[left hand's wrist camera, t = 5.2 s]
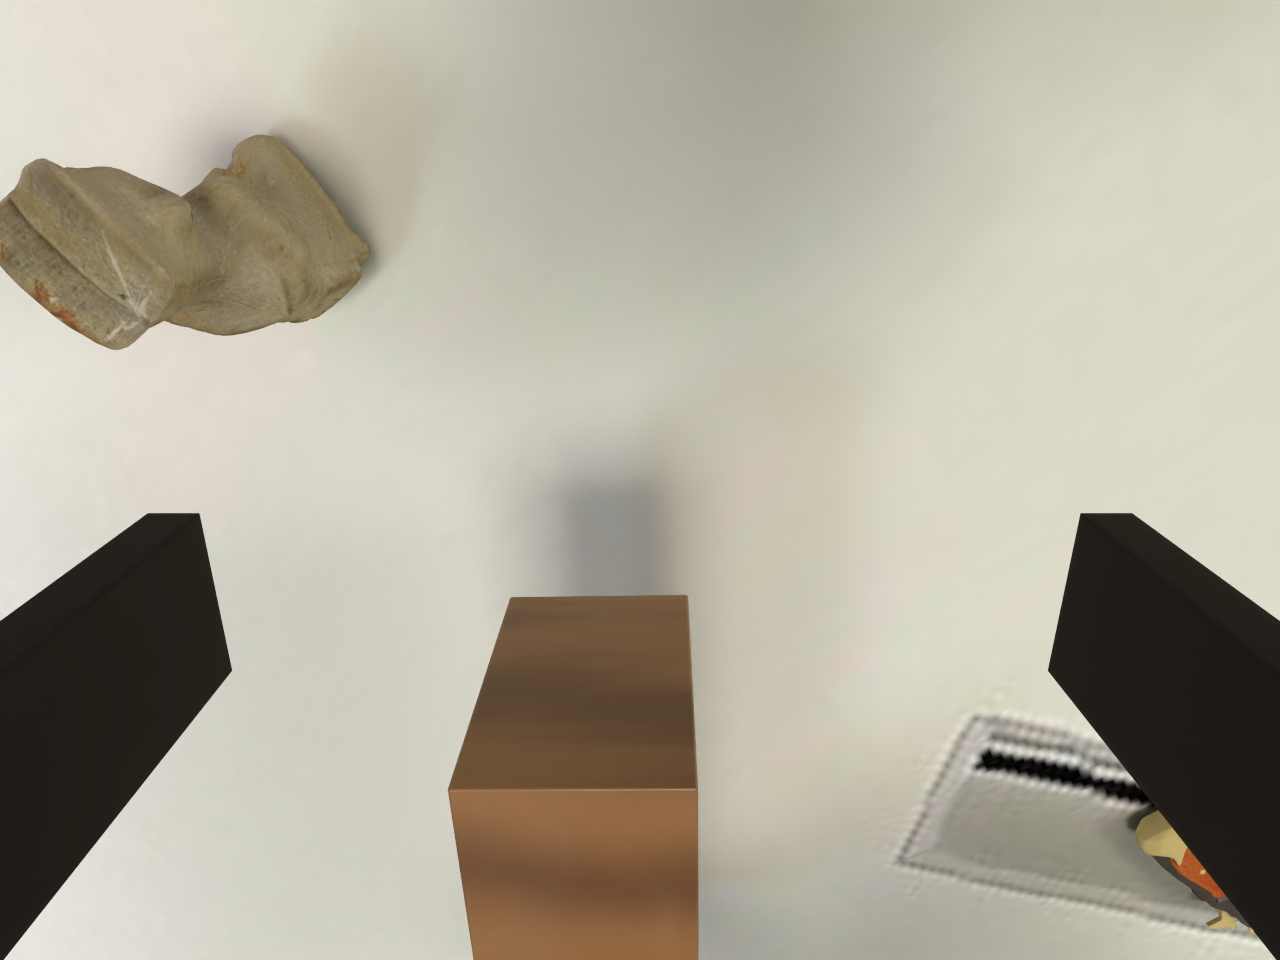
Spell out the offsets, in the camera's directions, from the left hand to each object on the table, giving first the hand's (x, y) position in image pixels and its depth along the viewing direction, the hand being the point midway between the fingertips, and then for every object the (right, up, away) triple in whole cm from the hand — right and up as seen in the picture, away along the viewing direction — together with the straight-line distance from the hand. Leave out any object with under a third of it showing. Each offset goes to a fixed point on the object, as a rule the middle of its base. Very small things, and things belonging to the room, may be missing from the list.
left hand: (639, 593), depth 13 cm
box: (-1, -16, +24) cm, 29 cm away
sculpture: (-15, +13, +25) cm, 32 cm away
